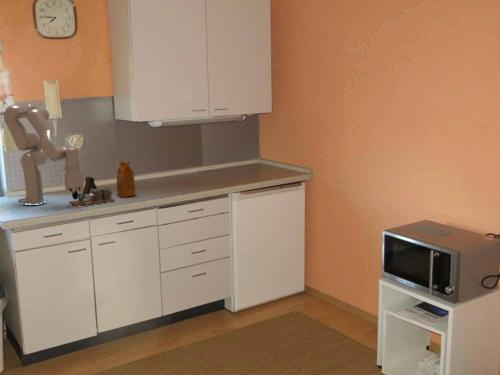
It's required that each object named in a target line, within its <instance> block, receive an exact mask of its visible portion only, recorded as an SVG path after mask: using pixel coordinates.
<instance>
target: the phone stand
mask: <svg viewBox="0 0 500 375" xmlns="http://www.w3.org/2000/svg"><path fill="white" fill-rule="evenodd" d="M84 179H85V180H84V188H83V191H82V194H83V195H86V194H91V189H98V188H97V185H96V183H95V178H94V177H91V176H85V178H84Z"/></svg>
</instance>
